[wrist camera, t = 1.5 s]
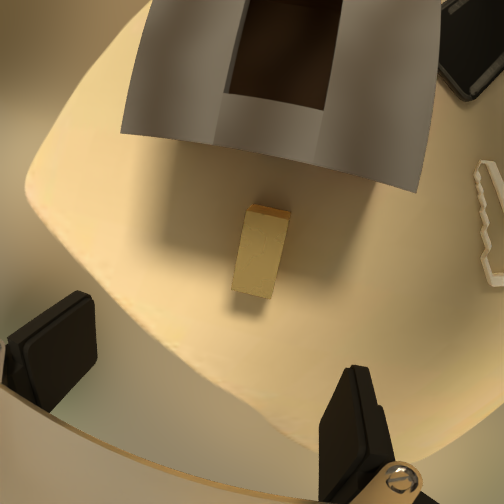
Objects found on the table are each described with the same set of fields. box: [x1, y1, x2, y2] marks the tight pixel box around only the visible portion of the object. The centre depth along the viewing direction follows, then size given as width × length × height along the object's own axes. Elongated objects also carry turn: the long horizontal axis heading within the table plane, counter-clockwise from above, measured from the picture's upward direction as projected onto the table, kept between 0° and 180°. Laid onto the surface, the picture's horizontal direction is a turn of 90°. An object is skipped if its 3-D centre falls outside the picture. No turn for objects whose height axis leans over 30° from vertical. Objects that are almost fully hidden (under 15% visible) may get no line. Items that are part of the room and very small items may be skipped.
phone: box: [437, 0, 504, 102], centre depth 17 cm, size 8×1×15 cm
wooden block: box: [231, 204, 291, 299], centre depth 24 cm, size 3×6×4 cm, turn 169°
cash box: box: [120, 0, 441, 193], centre depth 17 cm, size 16×14×9 cm
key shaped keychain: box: [473, 160, 504, 287], centre depth 22 cm, size 13×5×2 cm, turn 33°
